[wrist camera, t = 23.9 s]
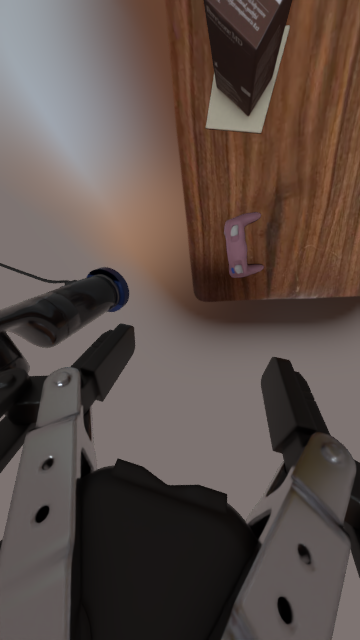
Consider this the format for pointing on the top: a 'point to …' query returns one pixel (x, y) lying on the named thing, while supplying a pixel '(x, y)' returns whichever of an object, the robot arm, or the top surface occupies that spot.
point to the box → (245, 45)
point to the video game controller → (239, 245)
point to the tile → (231, 116)
